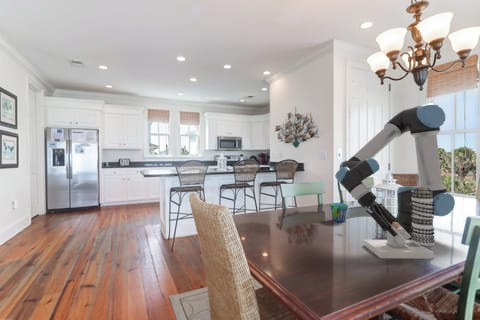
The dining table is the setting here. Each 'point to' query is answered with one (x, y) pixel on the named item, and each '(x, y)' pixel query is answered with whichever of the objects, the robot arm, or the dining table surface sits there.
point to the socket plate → (399, 250)
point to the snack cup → (339, 211)
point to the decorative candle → (422, 216)
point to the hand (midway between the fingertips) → (405, 240)
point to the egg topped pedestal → (391, 239)
